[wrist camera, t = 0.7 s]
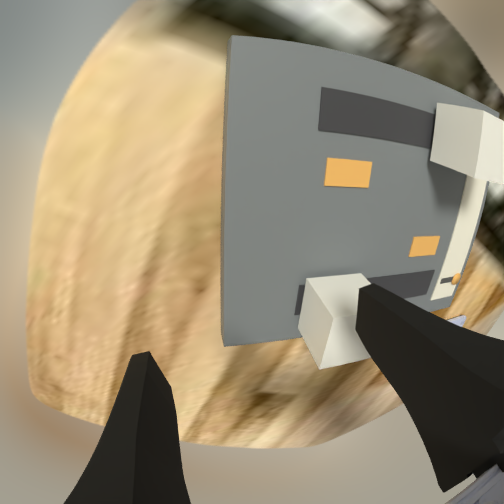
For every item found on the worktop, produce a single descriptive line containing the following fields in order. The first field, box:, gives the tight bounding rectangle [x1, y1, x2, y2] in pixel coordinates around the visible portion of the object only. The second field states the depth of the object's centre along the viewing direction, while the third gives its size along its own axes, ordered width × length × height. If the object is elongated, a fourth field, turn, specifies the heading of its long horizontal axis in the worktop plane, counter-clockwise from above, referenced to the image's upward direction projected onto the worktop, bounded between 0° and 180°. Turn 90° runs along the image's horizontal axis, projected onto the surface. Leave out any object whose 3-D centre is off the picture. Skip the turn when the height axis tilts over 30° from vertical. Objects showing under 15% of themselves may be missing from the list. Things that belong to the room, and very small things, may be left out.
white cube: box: [298, 273, 371, 370], centre depth 18 cm, size 4×4×4 cm
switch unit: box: [221, 35, 499, 347], centre depth 19 cm, size 19×22×2 cm
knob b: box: [430, 103, 504, 185], centre depth 14 cm, size 4×4×4 cm
